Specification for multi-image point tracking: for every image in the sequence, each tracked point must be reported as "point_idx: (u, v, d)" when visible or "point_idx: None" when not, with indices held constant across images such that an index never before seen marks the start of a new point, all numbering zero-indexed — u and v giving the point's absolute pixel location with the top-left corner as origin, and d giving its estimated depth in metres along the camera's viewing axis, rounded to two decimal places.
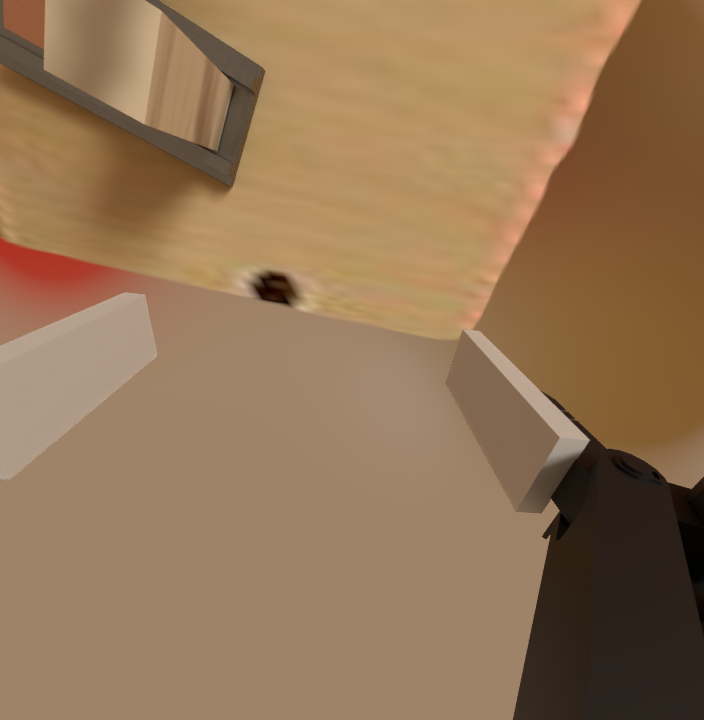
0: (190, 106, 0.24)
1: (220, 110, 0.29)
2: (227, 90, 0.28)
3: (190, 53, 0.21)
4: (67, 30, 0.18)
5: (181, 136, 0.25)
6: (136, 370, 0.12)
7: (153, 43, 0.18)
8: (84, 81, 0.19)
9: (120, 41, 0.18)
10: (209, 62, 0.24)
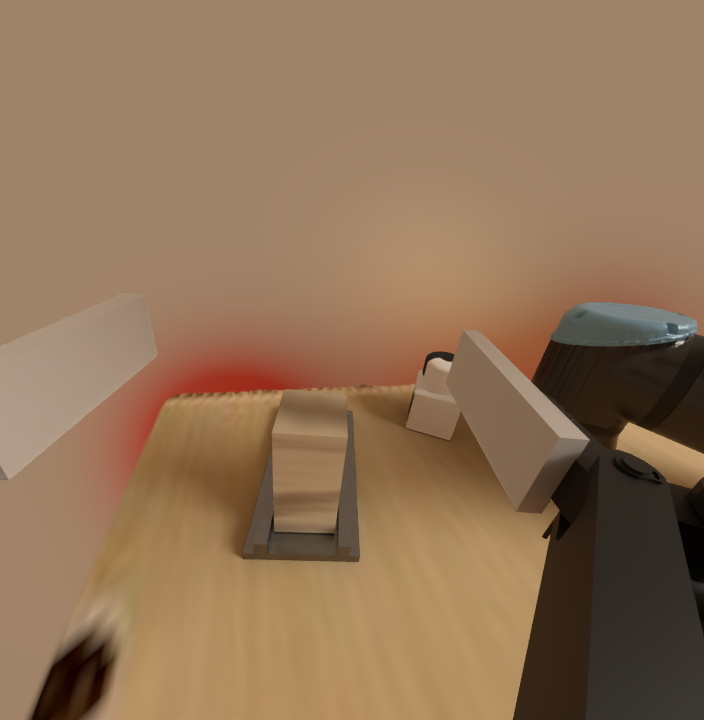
0: (300, 482, 0.26)
1: (309, 522, 0.29)
2: (327, 526, 0.30)
3: (335, 472, 0.26)
4: (310, 398, 0.28)
5: (274, 477, 0.26)
6: (136, 370, 0.12)
7: (327, 434, 0.24)
8: (286, 404, 0.27)
9: (318, 419, 0.25)
10: (338, 495, 0.27)
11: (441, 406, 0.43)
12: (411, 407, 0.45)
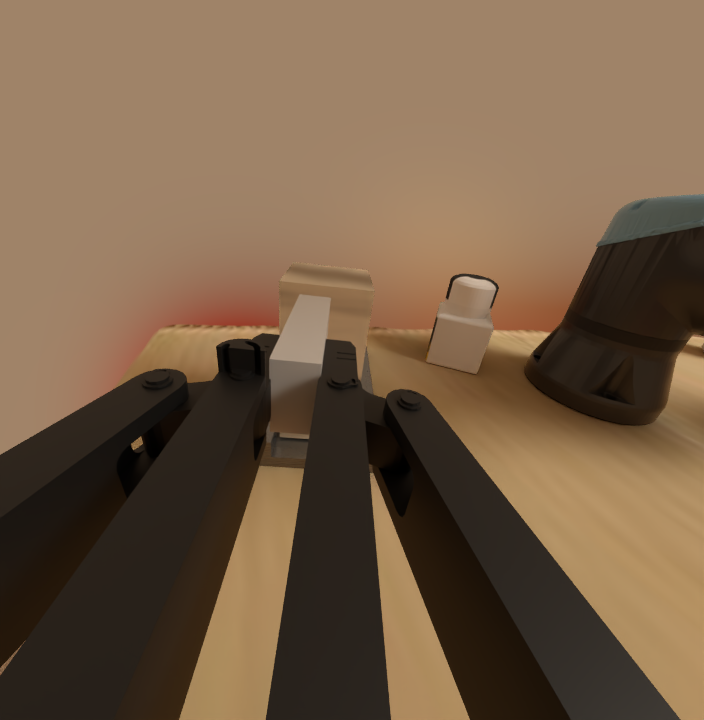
0: None
1: None
2: None
3: (357, 347, 0.21)
4: (325, 268, 0.23)
5: None
6: None
7: (348, 287, 0.19)
8: (296, 269, 0.22)
9: (336, 279, 0.21)
10: None
11: (468, 331, 0.38)
12: (433, 335, 0.40)
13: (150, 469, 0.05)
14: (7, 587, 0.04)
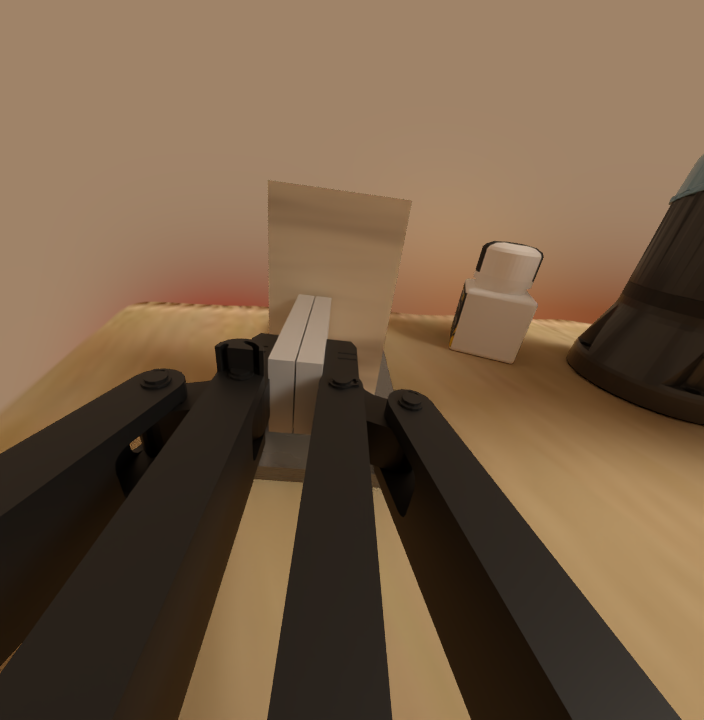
0: None
1: None
2: None
3: (381, 294, 0.14)
4: None
5: (271, 301, 0.15)
6: None
7: (373, 195, 0.13)
8: None
9: None
10: (380, 351, 0.16)
11: (505, 309, 0.31)
12: (461, 315, 0.33)
13: (149, 469, 0.05)
14: (5, 587, 0.04)
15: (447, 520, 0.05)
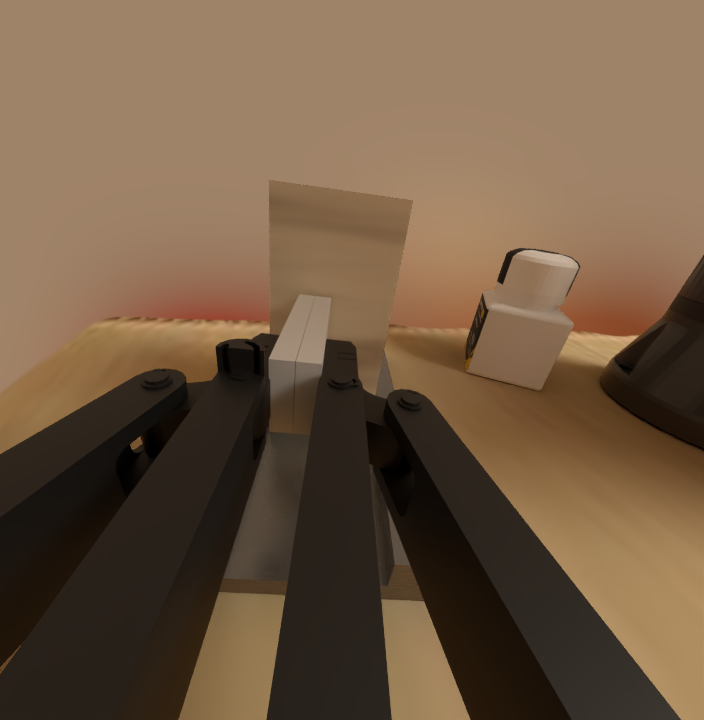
0: None
1: None
2: None
3: (382, 294, 0.14)
4: None
5: (272, 301, 0.15)
6: None
7: (374, 195, 0.13)
8: None
9: None
10: (381, 351, 0.16)
11: (534, 329, 0.26)
12: (481, 335, 0.28)
13: (149, 469, 0.05)
14: (6, 587, 0.04)
15: (446, 520, 0.05)
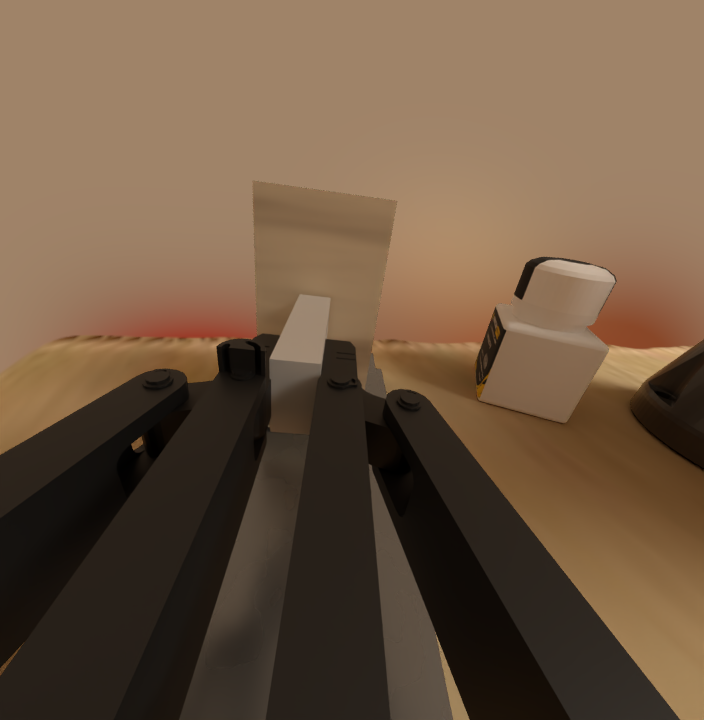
0: None
1: None
2: None
3: (368, 294, 0.15)
4: None
5: (258, 301, 0.15)
6: None
7: (358, 195, 0.13)
8: None
9: None
10: (368, 351, 0.16)
11: (560, 353, 0.22)
12: (496, 359, 0.24)
13: (150, 469, 0.05)
14: (7, 587, 0.04)
15: (445, 520, 0.05)
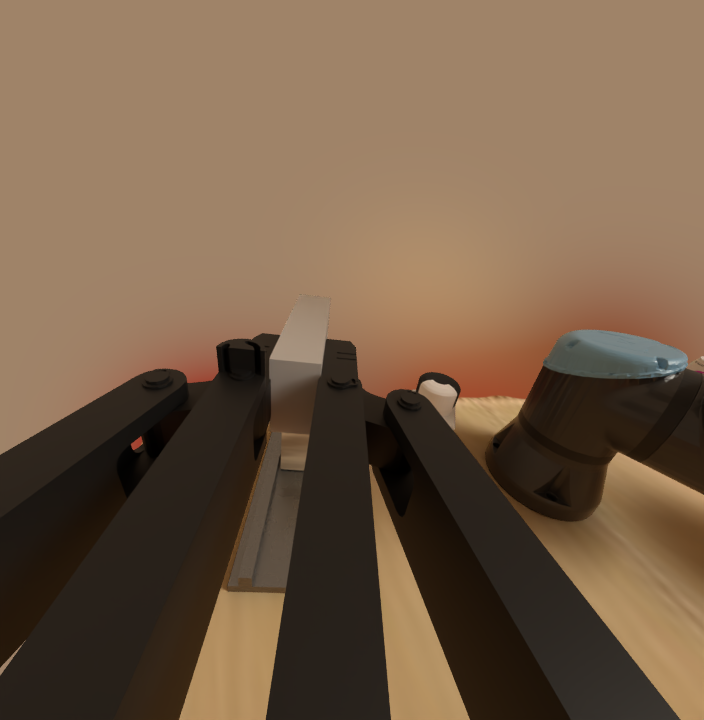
0: None
1: None
2: None
3: None
4: None
5: None
6: None
7: None
8: None
9: None
10: None
11: None
12: None
13: (150, 469, 0.05)
14: (7, 587, 0.04)
15: (446, 520, 0.05)
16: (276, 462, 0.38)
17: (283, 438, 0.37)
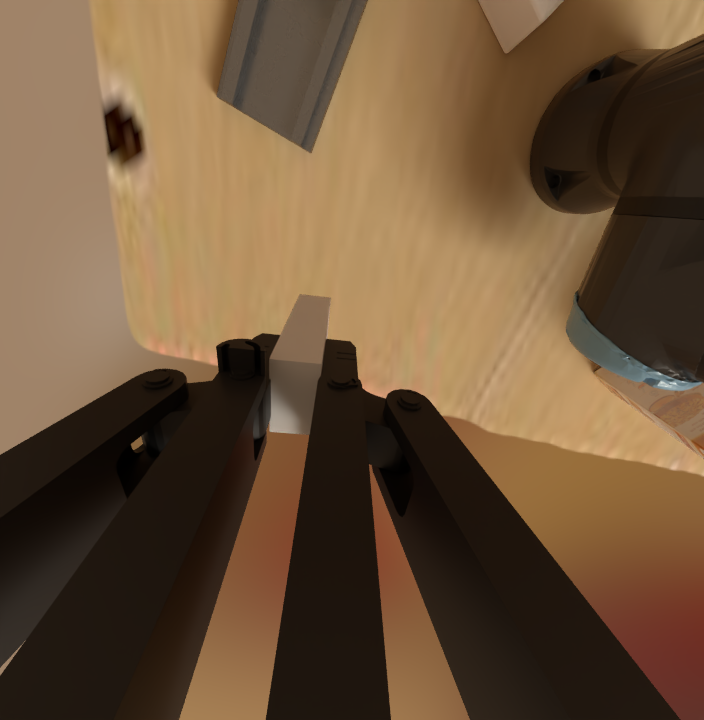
0: None
1: None
2: None
3: None
4: None
5: None
6: None
7: None
8: None
9: None
10: None
11: None
12: None
13: (150, 469, 0.05)
14: (7, 587, 0.04)
15: (446, 520, 0.05)
16: None
17: None
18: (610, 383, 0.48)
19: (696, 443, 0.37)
